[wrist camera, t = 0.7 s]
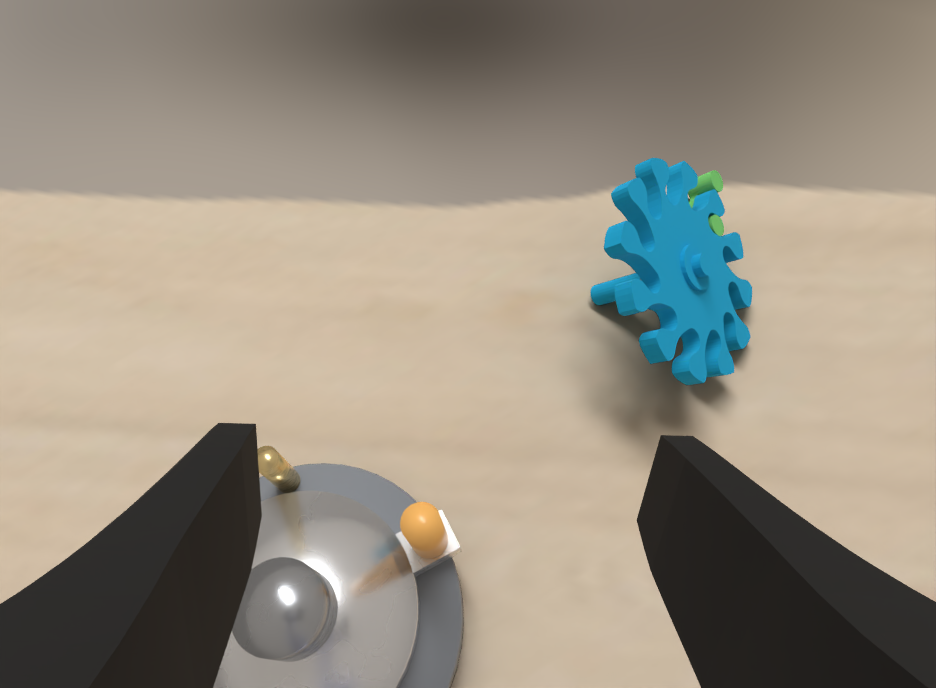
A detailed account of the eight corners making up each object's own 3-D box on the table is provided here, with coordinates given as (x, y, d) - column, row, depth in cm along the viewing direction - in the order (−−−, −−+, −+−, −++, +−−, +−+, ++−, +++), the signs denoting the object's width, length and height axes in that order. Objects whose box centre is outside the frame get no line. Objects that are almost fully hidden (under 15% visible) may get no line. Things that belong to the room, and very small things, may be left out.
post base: (497, 751, 24) (494, 763, 20) (166, 844, 23) (94, 875, 19) (429, 445, 29) (416, 406, 25) (162, 511, 29) (106, 482, 25)
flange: (221, 813, 22) (171, 833, 18) (154, 563, 26) (103, 545, 22) (508, 644, 24) (508, 636, 20) (404, 437, 27) (390, 403, 24)
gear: (737, 429, 27) (603, 259, 23) (621, 437, 32) (492, 296, 28) (784, 253, 33) (683, 92, 29) (680, 281, 37) (580, 145, 33)
